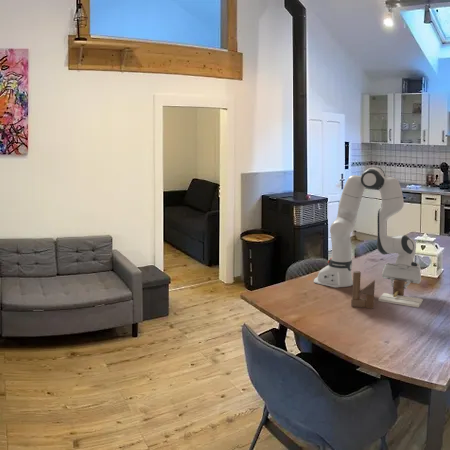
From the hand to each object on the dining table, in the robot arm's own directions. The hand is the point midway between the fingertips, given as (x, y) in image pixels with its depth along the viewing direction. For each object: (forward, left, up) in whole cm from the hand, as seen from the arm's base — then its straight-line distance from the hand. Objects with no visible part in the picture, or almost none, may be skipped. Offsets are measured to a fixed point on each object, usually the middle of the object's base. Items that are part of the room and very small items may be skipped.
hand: (398, 287), depth 276 cm
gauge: (0, -3, -5) cm, 6 cm away
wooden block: (-12, -25, -5) cm, 29 cm away
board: (+3, -8, -5) cm, 10 cm away
